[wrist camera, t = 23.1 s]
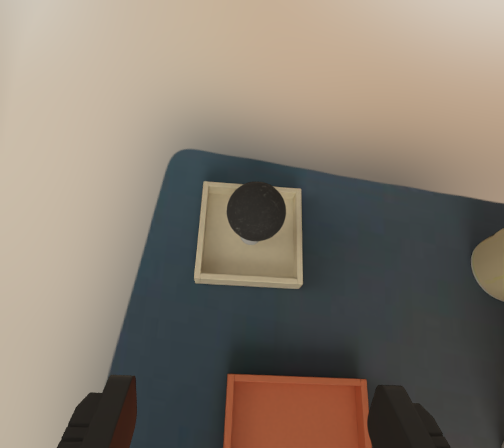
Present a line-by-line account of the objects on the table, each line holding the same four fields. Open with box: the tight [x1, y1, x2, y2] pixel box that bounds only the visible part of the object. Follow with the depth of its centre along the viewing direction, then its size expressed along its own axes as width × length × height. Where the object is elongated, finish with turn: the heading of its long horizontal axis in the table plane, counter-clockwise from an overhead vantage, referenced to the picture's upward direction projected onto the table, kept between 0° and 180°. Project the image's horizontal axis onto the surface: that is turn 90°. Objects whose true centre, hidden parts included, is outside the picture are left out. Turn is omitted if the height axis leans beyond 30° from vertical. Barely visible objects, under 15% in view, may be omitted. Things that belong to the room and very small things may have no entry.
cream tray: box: [194, 181, 303, 289], centre depth 40 cm, size 11×11×2 cm
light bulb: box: [227, 182, 286, 245], centre depth 36 cm, size 6×6×10 cm
